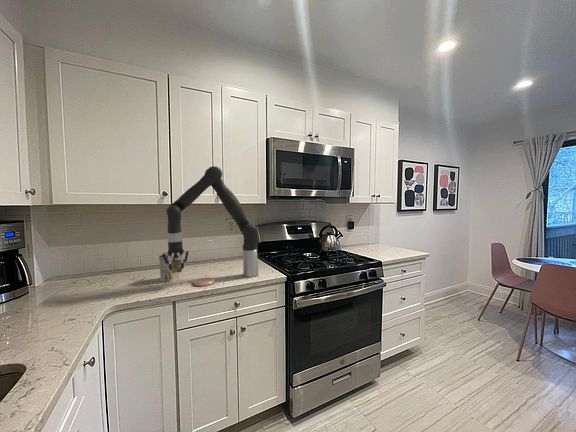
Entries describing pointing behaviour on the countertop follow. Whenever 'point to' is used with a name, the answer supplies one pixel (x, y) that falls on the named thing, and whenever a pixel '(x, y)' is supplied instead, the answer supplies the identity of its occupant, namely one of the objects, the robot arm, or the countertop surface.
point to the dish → (204, 282)
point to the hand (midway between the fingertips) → (176, 269)
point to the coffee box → (166, 270)
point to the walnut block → (176, 266)
